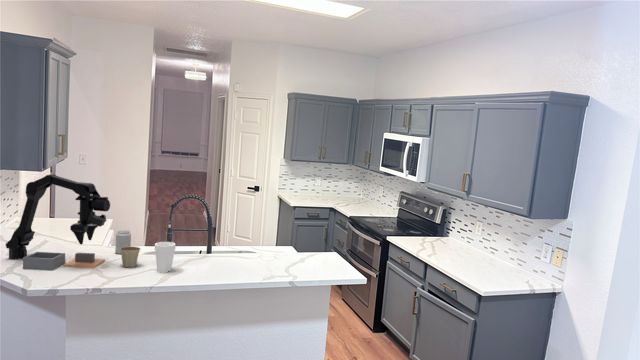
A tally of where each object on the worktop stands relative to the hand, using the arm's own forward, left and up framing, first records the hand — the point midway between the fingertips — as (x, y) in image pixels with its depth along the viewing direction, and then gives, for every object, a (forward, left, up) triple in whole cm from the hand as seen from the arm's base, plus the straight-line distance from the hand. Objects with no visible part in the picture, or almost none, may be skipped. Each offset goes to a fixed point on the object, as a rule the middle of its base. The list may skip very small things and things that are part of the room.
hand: (85, 242), depth 216 cm
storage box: (-15, -7, -11) cm, 20 cm away
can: (+8, +27, -12) cm, 30 cm away
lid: (0, 0, -11) cm, 11 cm away
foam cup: (+38, -2, -12) cm, 40 cm away
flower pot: (+20, +3, -12) cm, 23 cm away
